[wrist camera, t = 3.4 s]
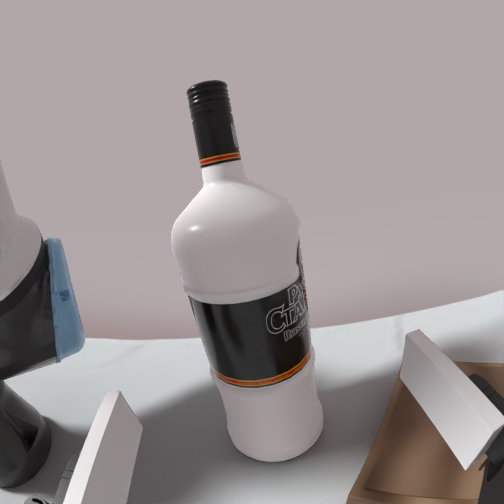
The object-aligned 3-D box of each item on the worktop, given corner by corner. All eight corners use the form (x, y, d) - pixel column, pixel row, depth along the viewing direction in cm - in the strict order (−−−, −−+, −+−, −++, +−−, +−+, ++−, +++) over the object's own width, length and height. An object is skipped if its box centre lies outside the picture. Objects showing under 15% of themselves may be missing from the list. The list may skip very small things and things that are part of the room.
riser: (344, 509, 14) (348, 493, 13) (398, 383, 26) (403, 355, 25) (514, 519, 4) (541, 499, 3) (520, 390, 16) (534, 361, 15)
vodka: (243, 396, 30) (175, 111, 21) (325, 396, 27) (286, 84, 19) (220, 460, 21) (102, 98, 12) (320, 467, 19) (264, 39, 10)
